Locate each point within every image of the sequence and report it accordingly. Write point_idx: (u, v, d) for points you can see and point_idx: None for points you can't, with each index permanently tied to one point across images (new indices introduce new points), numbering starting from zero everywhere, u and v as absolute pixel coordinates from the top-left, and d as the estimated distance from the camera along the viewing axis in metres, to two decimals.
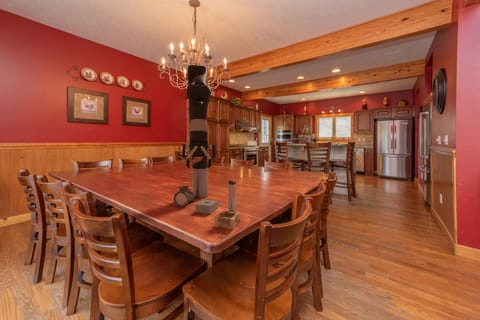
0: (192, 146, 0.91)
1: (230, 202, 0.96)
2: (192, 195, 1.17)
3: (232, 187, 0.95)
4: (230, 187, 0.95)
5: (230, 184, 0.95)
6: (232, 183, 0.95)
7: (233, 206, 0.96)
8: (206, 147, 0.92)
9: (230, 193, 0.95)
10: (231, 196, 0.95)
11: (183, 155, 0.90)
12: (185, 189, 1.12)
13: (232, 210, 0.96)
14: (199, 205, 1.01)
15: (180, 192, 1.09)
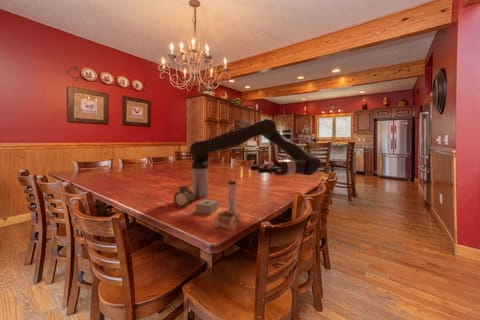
0: None
1: (230, 202, 0.96)
2: (192, 195, 1.17)
3: (232, 187, 0.95)
4: (230, 187, 0.95)
5: (230, 184, 0.95)
6: (232, 183, 0.95)
7: (233, 206, 0.96)
8: None
9: (230, 193, 0.95)
10: (231, 196, 0.95)
11: None
12: (185, 189, 1.12)
13: (232, 210, 0.96)
14: (199, 205, 1.01)
15: (180, 192, 1.09)
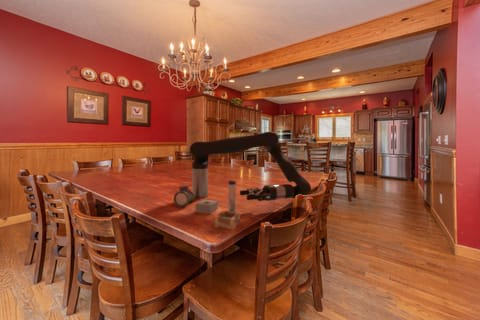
0: None
1: (230, 202, 0.96)
2: (192, 195, 1.17)
3: (232, 187, 0.95)
4: (230, 187, 0.95)
5: (230, 184, 0.95)
6: (232, 183, 0.95)
7: (233, 206, 0.96)
8: None
9: (230, 193, 0.95)
10: (231, 196, 0.95)
11: None
12: (185, 189, 1.12)
13: (232, 210, 0.96)
14: (199, 205, 1.01)
15: (180, 192, 1.09)
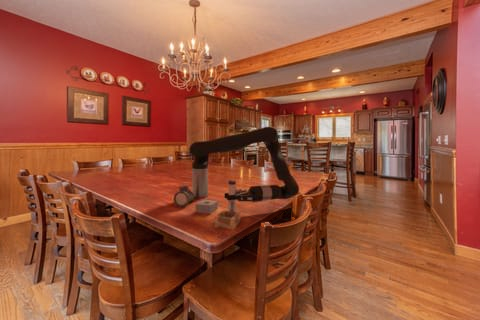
0: None
1: (230, 202, 0.96)
2: (192, 195, 1.17)
3: (232, 187, 0.95)
4: (230, 187, 0.95)
5: (230, 184, 0.95)
6: (232, 183, 0.95)
7: (233, 206, 0.96)
8: None
9: (230, 193, 0.95)
10: None
11: None
12: (185, 189, 1.12)
13: (232, 210, 0.96)
14: (199, 205, 1.01)
15: (180, 192, 1.09)
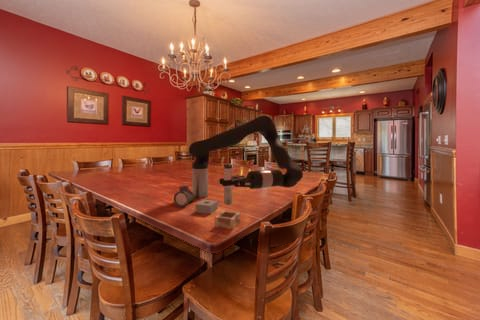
0: None
1: (225, 188, 0.85)
2: (192, 195, 1.17)
3: (227, 171, 0.84)
4: (226, 171, 0.84)
5: (226, 168, 0.84)
6: (228, 167, 0.84)
7: (229, 193, 0.85)
8: None
9: (226, 178, 0.84)
10: None
11: (237, 186, 0.83)
12: (185, 189, 1.12)
13: (228, 197, 0.85)
14: (199, 205, 1.01)
15: (180, 192, 1.09)
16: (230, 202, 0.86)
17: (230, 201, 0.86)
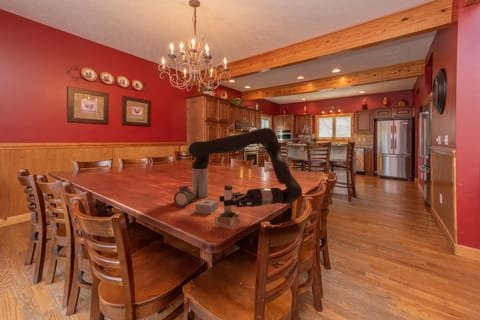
0: None
1: (225, 209, 0.86)
2: (192, 195, 1.17)
3: (228, 192, 0.85)
4: (226, 193, 0.85)
5: (226, 189, 0.85)
6: (228, 188, 0.85)
7: (229, 214, 0.86)
8: None
9: (226, 199, 0.85)
10: None
11: None
12: (185, 189, 1.12)
13: None
14: (199, 205, 1.01)
15: (180, 192, 1.09)
16: None
17: None
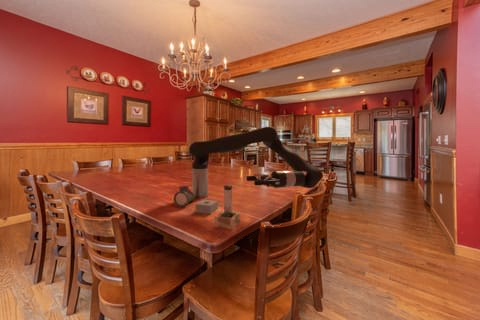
0: None
1: (225, 209, 0.86)
2: (192, 195, 1.17)
3: (227, 192, 0.85)
4: (226, 193, 0.85)
5: (226, 189, 0.85)
6: (228, 188, 0.85)
7: (229, 214, 0.86)
8: None
9: (226, 199, 0.85)
10: (227, 203, 0.85)
11: None
12: (185, 189, 1.12)
13: None
14: (199, 205, 1.01)
15: (180, 192, 1.09)
16: None
17: None
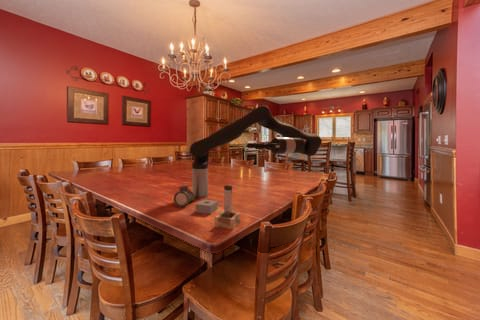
0: (272, 148, 0.93)
1: (225, 209, 0.86)
2: (192, 195, 1.17)
3: (227, 192, 0.85)
4: (226, 193, 0.85)
5: (226, 189, 0.85)
6: (228, 188, 0.84)
7: (229, 214, 0.86)
8: None
9: (226, 200, 0.85)
10: (227, 203, 0.85)
11: (269, 149, 0.88)
12: (185, 189, 1.12)
13: None
14: (199, 205, 1.01)
15: (180, 192, 1.09)
16: None
17: None
